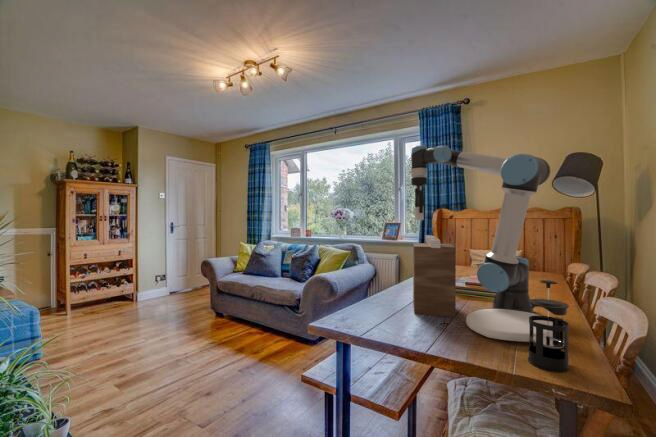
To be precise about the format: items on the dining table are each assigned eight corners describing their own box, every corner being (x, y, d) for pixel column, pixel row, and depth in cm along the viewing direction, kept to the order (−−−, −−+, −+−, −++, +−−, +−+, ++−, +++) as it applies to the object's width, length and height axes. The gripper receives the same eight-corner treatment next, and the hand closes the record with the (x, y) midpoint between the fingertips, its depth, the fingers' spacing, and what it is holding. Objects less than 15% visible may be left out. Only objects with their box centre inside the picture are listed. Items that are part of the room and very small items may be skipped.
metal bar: (425, 241, 155) (425, 235, 155) (432, 241, 154) (432, 235, 154) (431, 247, 124) (431, 240, 124) (440, 248, 123) (440, 240, 123)
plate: (481, 331, 98) (455, 306, 124) (483, 351, 98) (457, 323, 124) (576, 324, 95) (529, 301, 122) (579, 345, 95) (531, 317, 122)
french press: (557, 376, 79) (557, 286, 79) (519, 361, 87) (519, 279, 87) (579, 365, 85) (579, 281, 85) (541, 352, 93) (542, 275, 93)
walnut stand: (413, 303, 145) (413, 243, 145) (449, 305, 141) (449, 243, 141) (414, 313, 129) (414, 246, 129) (455, 316, 126) (455, 247, 125)
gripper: (409, 180, 169) (409, 219, 169) (413, 174, 144) (413, 220, 145) (424, 180, 167) (424, 219, 168) (430, 173, 143) (430, 220, 143)
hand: (419, 219), depth 156 cm, fingers open, 13 cm apart
